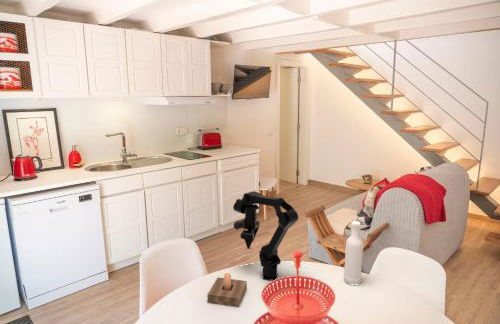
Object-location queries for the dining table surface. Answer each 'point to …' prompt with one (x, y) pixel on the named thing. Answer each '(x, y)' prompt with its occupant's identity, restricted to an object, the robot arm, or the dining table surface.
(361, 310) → the dining table surface
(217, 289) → the hole block
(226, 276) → the peg
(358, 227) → the bottle
